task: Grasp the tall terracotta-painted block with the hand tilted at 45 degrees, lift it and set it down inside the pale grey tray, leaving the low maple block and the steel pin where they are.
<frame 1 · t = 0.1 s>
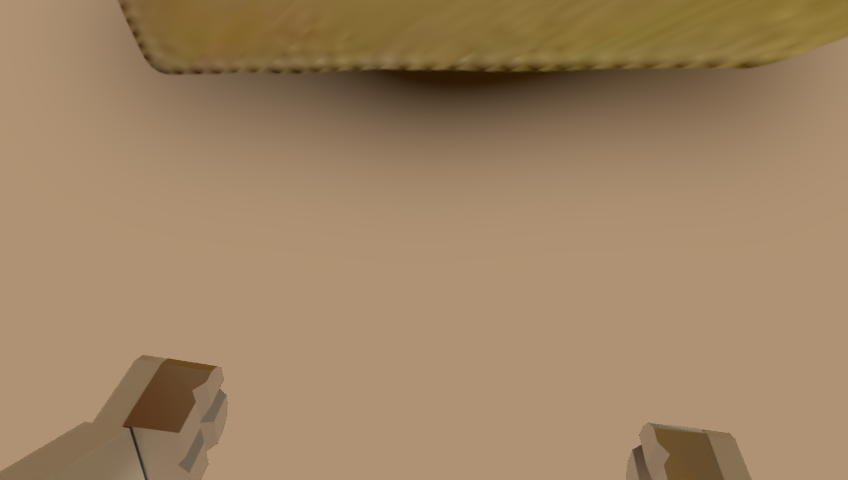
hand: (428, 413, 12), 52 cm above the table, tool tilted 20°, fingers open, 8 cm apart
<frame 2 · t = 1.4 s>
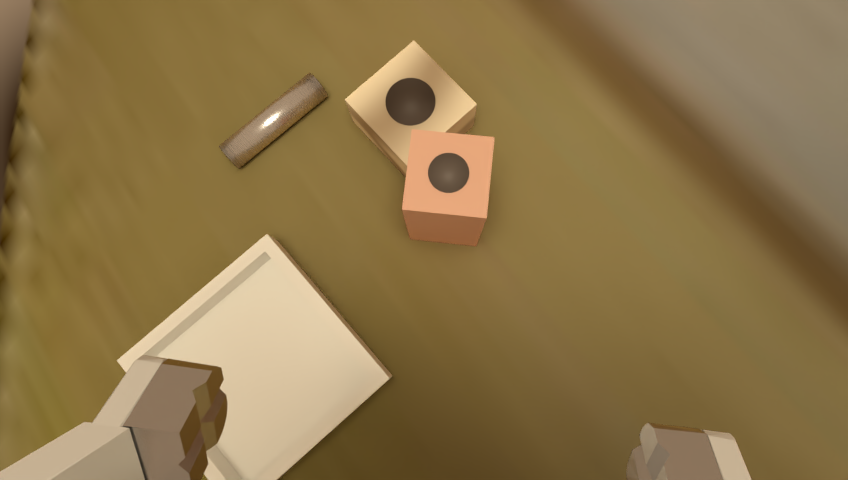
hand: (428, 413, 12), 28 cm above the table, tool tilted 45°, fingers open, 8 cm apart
tray: (264, 367, 39), on the table
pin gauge: (283, 132, 42), on the table, tilted 66°
low block: (413, 124, 42), on the table
tall block: (446, 210, 41), on the table
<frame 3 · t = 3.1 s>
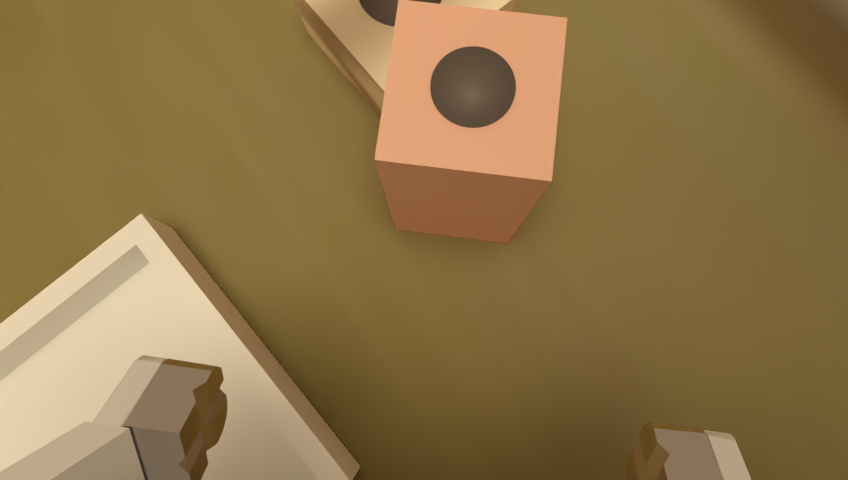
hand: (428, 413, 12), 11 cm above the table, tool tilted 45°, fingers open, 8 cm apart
tray: (137, 447, 23), on the table
low block: (405, 42, 26), on the table
tall block: (458, 182, 24), on the table
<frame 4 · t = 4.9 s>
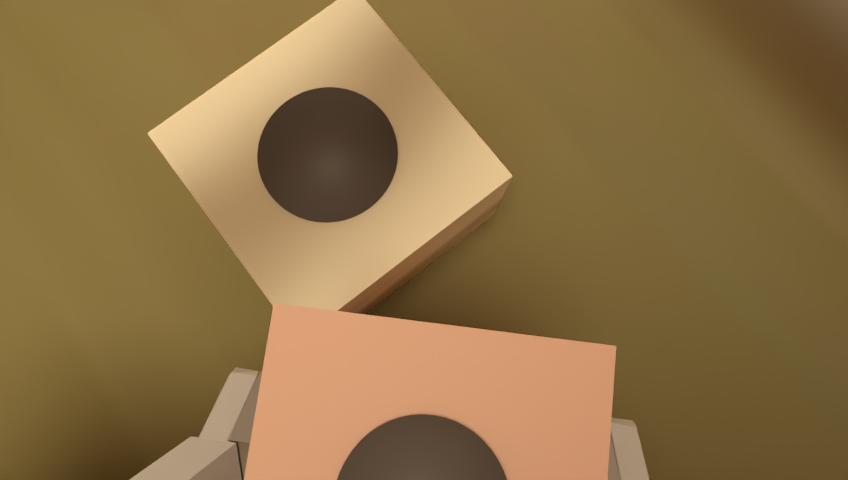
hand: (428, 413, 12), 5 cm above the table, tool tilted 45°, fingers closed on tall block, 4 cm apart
low block: (350, 198, 18), on the table
tall block: (426, 420, 16), on the table, touching gripper
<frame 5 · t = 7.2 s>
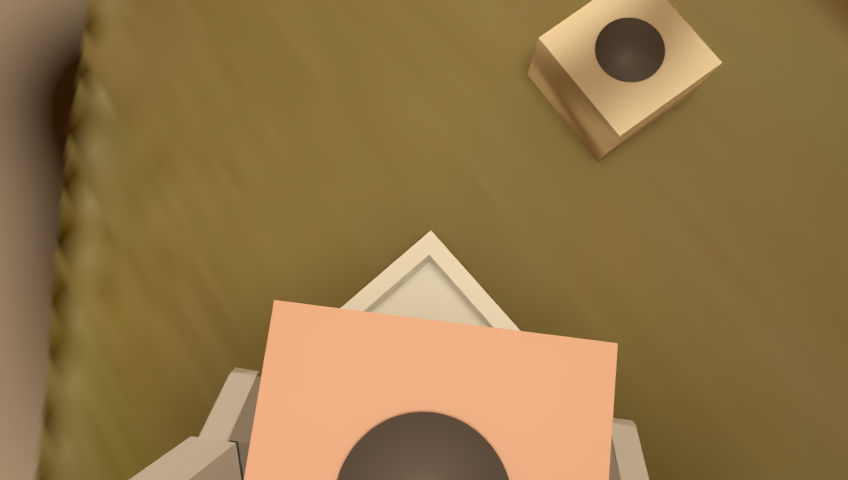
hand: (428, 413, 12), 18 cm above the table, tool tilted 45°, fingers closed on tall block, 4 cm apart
tray: (419, 413, 29), on the table
low block: (606, 87, 32), on the table
tall block: (426, 419, 16), point 13 cm above the table, touching gripper
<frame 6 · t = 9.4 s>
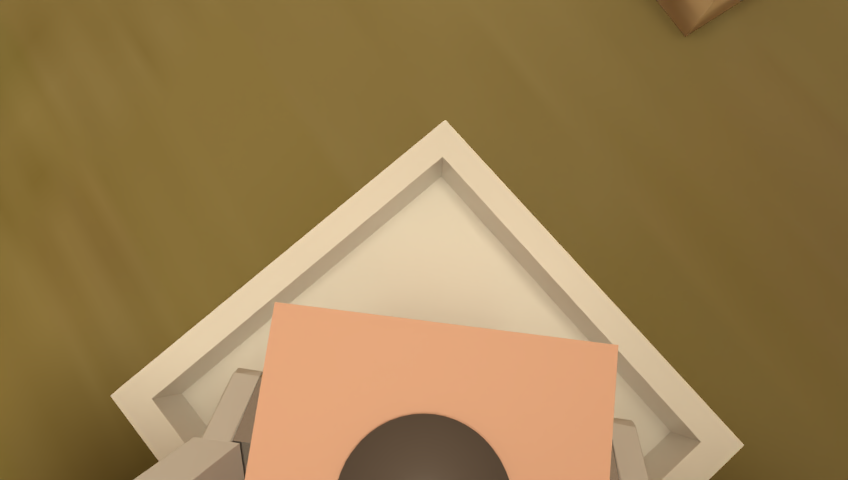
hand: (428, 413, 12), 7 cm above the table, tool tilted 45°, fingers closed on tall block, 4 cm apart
tray: (424, 410, 18), on the table
tall block: (426, 420, 16), point 2 cm above the table, touching gripper
when the fingers open (7 cm above the table, at t = 9.6 s): tall block drops 2 cm, resting on tray.
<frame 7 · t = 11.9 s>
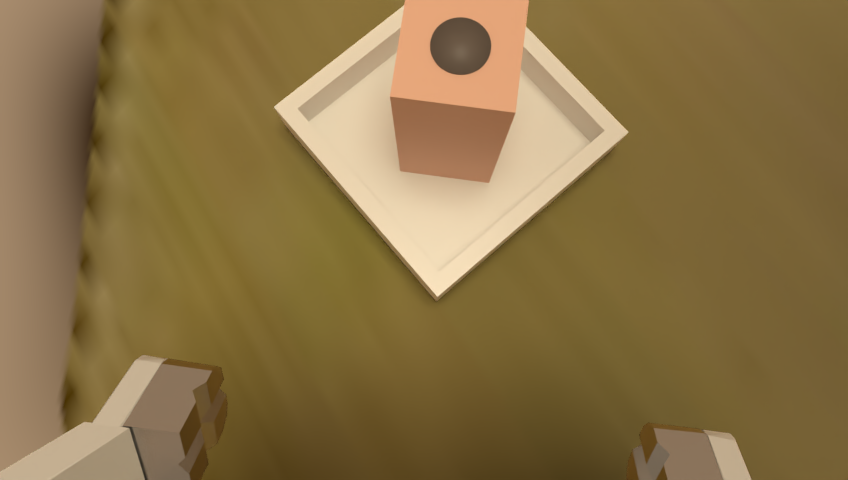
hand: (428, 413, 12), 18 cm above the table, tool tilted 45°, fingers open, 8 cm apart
tray: (448, 138, 31), on the table
tall block: (450, 135, 30), point 1 cm above the table, touching tray
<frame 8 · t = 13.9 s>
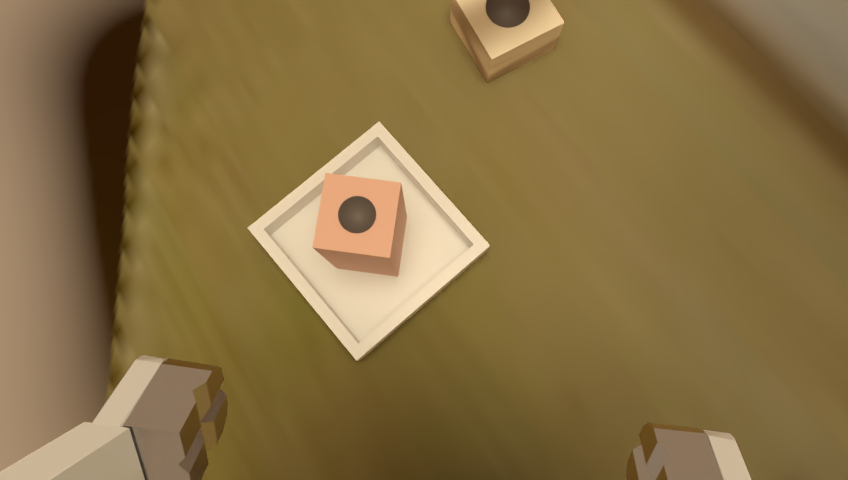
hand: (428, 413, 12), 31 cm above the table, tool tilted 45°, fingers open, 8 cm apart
tray: (371, 243, 44), on the table
low block: (501, 36, 47), on the table
tall block: (372, 242, 43), point 1 cm above the table, touching tray
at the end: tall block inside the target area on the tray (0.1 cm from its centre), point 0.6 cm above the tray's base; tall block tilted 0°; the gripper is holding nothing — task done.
